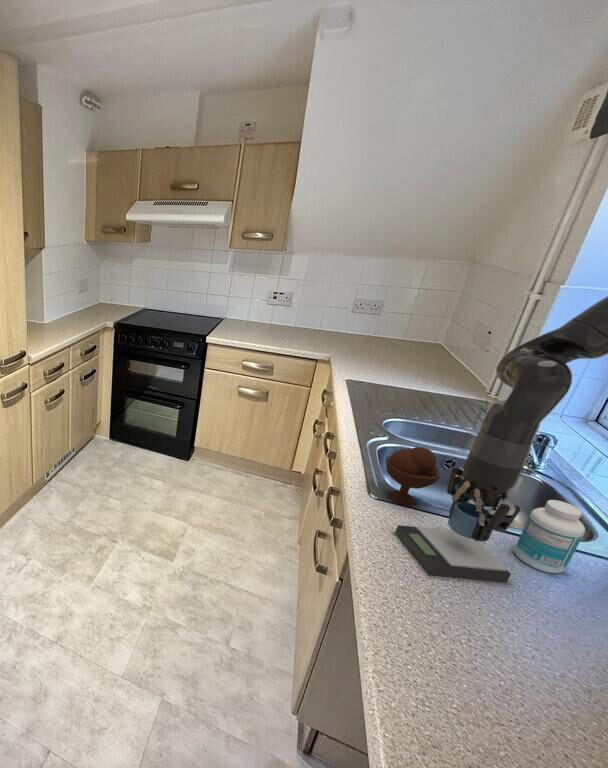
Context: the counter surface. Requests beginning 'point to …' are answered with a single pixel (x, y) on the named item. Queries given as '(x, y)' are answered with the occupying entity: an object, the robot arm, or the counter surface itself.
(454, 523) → the blue cup
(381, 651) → the counter surface
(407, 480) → the ice cream bowl
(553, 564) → the pill bottle
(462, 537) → the kitchen scale
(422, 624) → the counter surface
